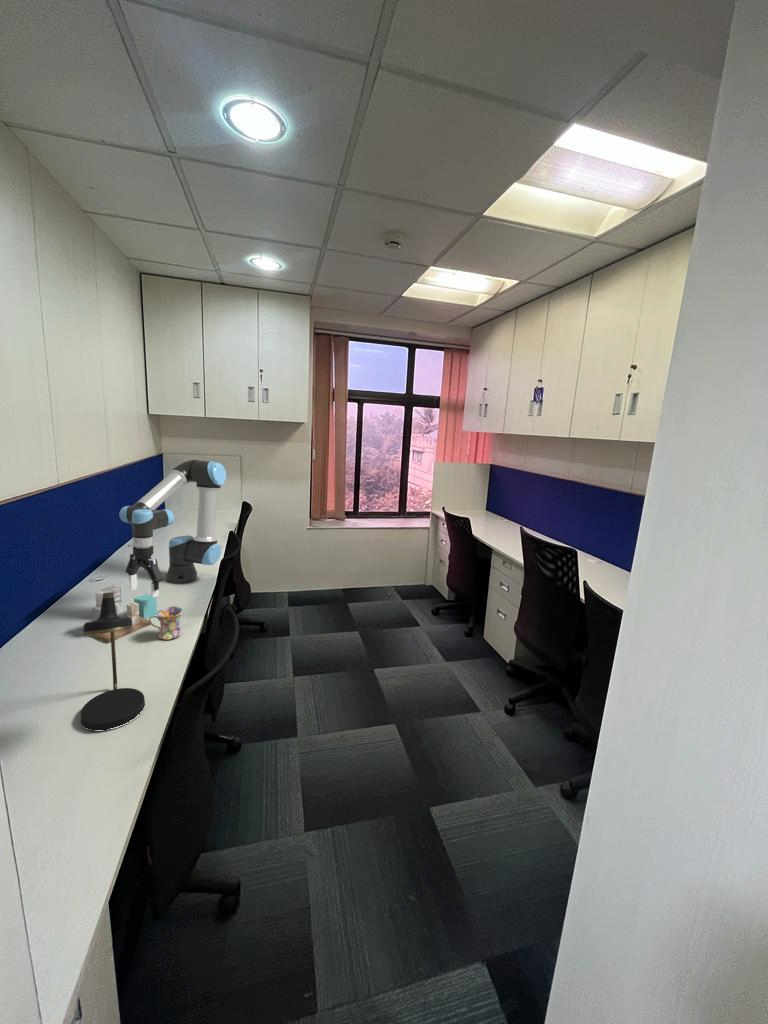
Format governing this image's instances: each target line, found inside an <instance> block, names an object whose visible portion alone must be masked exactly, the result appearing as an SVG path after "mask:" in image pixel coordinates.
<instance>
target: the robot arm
mask: <svg viewBox="0 0 768 1024" xmlns="http://www.w3.org/2000/svg"><path fill="white" fill-rule="evenodd" d="M226 480H227V471H226V469H225V467H224V466H223V464H222V463H220V462H215V461H212V460H211V461H209V460H199V459H190V460H189V459H188V460H186V461H183V462H181V463H179V464H178V465H176V466H175V467H173V468H172V469H171V470H169V472H168V475H166V477H165V478H164V479H162V480H161V481H160V482H159V483H158V484H157V485H155V486H154V487H153V488H151V489H150V491H148V493H146V494H145V495H144V496H142V497H141V498H140V499H139V500H138V501H137V502H136V503H134V504H133V505H126V506H123V507H122V508H121V509H120V511H119V512H118V513H119V516H118V517H119V519H120V520H121V522H123V523H127V524H130V525H131V526H132V527H131V529H132V530H131V531H132V532H131V533H132V553H131V554H129V560H128V563H127V566H126V568H125V573H126V574H127V575H128V576H129V589H130V591H133V590H137V589H138V574H137V572H138V571H139V569H140V568H143V569H144V571H146V572H147V574H148V577H149V578H150V580H151V585H150V587H151V591H150V592H151V593H150V595H152V598H154V597H156V598H157V597H159V590H160V583H162V582H163V581H164V579H163V576H162V573H161V570H160V568H159V565H158V559H157V558H154V559H152V556H153V555H154V530H157V529H162V528H166V527H168V526H170V525H172V524H174V521H175V515H174V513H173V511H172V510H170V509H168V508H166V509H159V510H157V508H159V507H160V505H162V504H163V503H164V502H165V501H166V500H167V499H169V497H170V496H172V494H174V493H175V492H176V491H177V490H178V489H179V488H180V487H185V486H186V485H187V484H189V483H196V484H195V485H196V486H195V487H196V488H197V489H198V508H197V521H196V522H197V527H196V536H195V537H194V536H192V535H180V536H175V537H172V538H171V539H170V540H169V541H168V557H169V562H168V563H169V566H168V569H167V573H166V575H165V578H166V579H165V580H166V581H167V582H168V583H171V584H186V583H187V584H188V583H191V582H193V581H196V579H198V572H197V569H196V567H195V564H199V565H203V566H212V565H215V564H216V563H217V562H218V560H220V557H221V555H222V546H221V545H220V543H218V538H217V537H216V536H215V533H216V532H215V531H216V530H215V529H216V518H217V517H216V514H217V502H218V491H220V490H221V486H223V485H224V484H225V482H226Z"/></svg>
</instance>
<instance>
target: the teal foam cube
mask: <svg viewBox="0 0 768 1024" xmlns="http://www.w3.org/2000/svg"><path fill="white" fill-rule="evenodd" d="M133 602H135V603H138V604H139V616H140V617H142V618H145V619H147V620H148V619H149V618H150V617H152V616H157V611H158V610H157V597H154V598H152V595H151V594H149V593H145V594H141V595H139V596H136V597H134V598H133Z"/></svg>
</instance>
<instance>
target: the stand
mask: <svg viewBox="0 0 768 1024" xmlns="http://www.w3.org/2000/svg"><path fill="white" fill-rule="evenodd" d="M101 605H102V604H100V605H97V606H96V605H95V606H92V607H91V608H92V609H91V610H92V621H95V620H97V619H98V618H99V617H100V612H101ZM115 607H116V613H117V616H119V614H118V609H117V605H115ZM124 617H130V618H131V619H132V624H133V627H134V628H133V629H128V630H122V631H115V632H114V635H115V641H116V640H119V639H120V638H123V637H125V636H127V635H130V634H133V633H134V632H136V631H140V630H141V629H144V628H146V627H149V626H152V625H151V624H150V622H149V619H148V618H147V619H145V618H142V617H140V616H139V604H138V603H135V602H134V601H133V602H130V603H128V604H126V615H125V616H124ZM90 636H91V637H94V638H95V639H97V640H101V641H102V642H105V643H107V644H111V634H110V632H108V633H101V634H93V635H90Z"/></svg>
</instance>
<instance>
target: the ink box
mask: <svg viewBox="0 0 768 1024" xmlns="http://www.w3.org/2000/svg"><path fill="white" fill-rule="evenodd" d="M109 592H113V593H114V600H115V605H117V609H118V615H119V614H121V613H122V612H123V608H122V606H123V605H122V588H121V587H120V586H119V587H118V586H114V585H110V586H108V587H105V588H102V589H100V590H98V591H96V592H95V606H97V605H100V604H102V596H103V593H109Z"/></svg>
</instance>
